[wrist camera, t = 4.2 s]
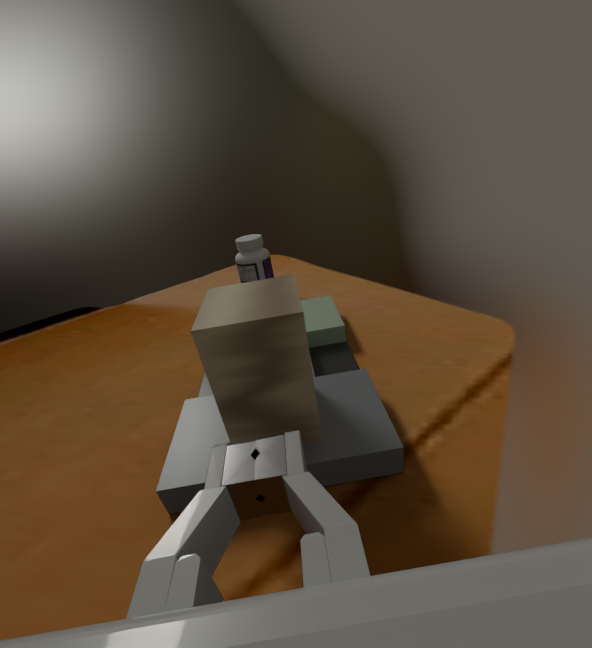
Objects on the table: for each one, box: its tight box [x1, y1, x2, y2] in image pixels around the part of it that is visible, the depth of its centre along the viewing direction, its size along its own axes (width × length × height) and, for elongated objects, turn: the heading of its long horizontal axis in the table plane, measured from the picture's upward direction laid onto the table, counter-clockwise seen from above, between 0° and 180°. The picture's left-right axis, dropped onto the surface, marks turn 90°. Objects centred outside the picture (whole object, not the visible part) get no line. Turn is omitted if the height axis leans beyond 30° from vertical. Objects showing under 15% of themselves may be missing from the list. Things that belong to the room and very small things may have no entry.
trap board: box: [156, 296, 404, 514], centre depth 31 cm, size 16×25×2 cm, turn 5°
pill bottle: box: [235, 234, 274, 283], centre depth 50 cm, size 5×5×10 cm
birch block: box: [191, 274, 323, 446], centre depth 21 cm, size 6×6×10 cm
